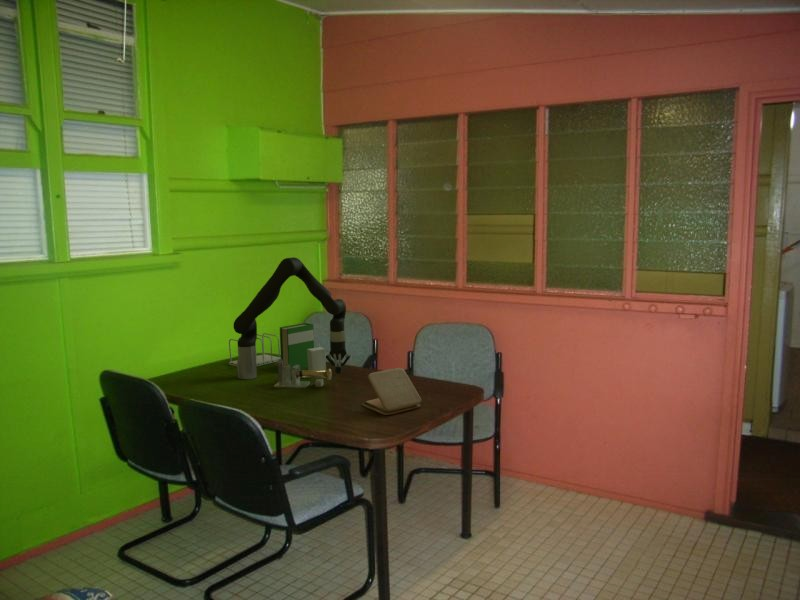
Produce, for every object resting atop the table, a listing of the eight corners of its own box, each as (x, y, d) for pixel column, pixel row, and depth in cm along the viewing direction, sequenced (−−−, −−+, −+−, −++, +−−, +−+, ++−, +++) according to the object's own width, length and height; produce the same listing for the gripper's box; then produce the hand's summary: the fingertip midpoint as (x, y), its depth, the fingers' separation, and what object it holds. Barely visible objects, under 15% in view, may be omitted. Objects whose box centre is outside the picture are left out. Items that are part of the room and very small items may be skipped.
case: (386, 417, 277) (385, 380, 275) (359, 405, 294) (359, 370, 292) (423, 408, 289) (423, 373, 287) (396, 397, 306) (396, 364, 304)
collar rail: (274, 387, 326) (273, 363, 324) (280, 382, 335) (279, 359, 333) (320, 388, 323) (319, 364, 321) (324, 382, 332) (323, 360, 330)
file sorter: (264, 357, 393) (263, 331, 391) (282, 361, 381) (281, 335, 379) (228, 364, 375) (227, 338, 372) (246, 369, 363) (244, 342, 361)
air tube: (291, 380, 326) (291, 369, 325) (294, 377, 331) (294, 366, 330) (329, 381, 323) (329, 370, 322) (331, 378, 329) (331, 367, 328)
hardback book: (289, 372, 355) (287, 328, 352) (281, 369, 360) (279, 327, 357) (314, 366, 368) (313, 324, 365) (306, 364, 373) (305, 322, 370)
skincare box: (322, 373, 351) (321, 346, 349) (326, 375, 346) (325, 348, 344) (307, 375, 347) (306, 348, 345) (312, 378, 342) (311, 350, 340)
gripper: (322, 341, 320) (324, 375, 322) (349, 341, 318) (350, 375, 320) (326, 338, 327) (327, 371, 330) (352, 338, 325) (353, 372, 328)
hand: (338, 373), depth 325 cm, fingers closed
